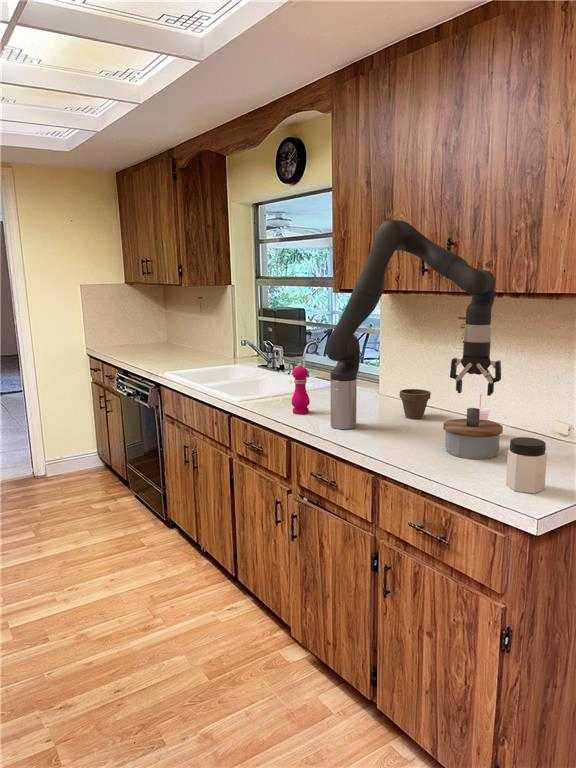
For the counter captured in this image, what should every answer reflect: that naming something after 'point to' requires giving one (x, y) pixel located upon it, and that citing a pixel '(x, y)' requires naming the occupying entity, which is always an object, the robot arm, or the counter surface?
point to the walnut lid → (473, 425)
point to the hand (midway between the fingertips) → (474, 394)
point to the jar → (526, 465)
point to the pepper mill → (300, 391)
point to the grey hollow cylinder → (472, 446)
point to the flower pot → (414, 402)
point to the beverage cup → (483, 411)
